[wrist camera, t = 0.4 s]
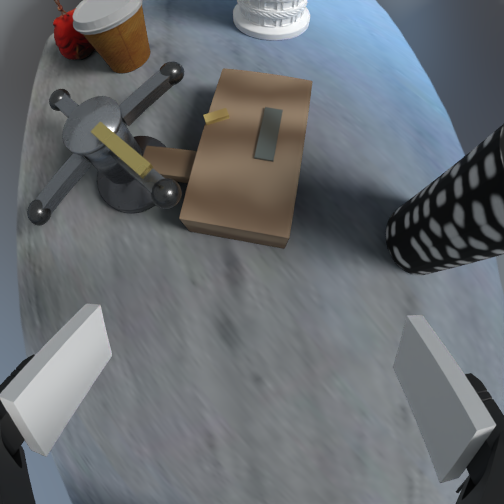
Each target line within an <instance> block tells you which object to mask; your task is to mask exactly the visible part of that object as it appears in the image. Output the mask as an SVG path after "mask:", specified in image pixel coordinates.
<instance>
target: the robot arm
mask: <svg viewBox="0 0 504 504" xmlns="http://www.w3.org/2000/svg"><path fill="white" fill-rule="evenodd" d="M111 357H112V352H111V348H110V344H109V340H108V336H107V332H106V328H105V324H104V319H103V315H102V310H101V305H97V304H88V303H86V304H85V305H84V306H83V307H82V308H81V309H80V310H79V311H78V312H77V313H76V314H75V315H74V316H73V317H72V318H71V319H70V320H69V321H68V322H67V323H66V324H65V325H64V326H63V327H62V328H61V329H60V330H59V331H58V332H57V333H56V334H55V335H54V336H53V337H52V338H51V339H50V340H49V341H48V342H47V343H46V344H45V345H44V347H43V348H42V349H41V350H40V351H39V352H38V353H37V354H36V355H34V354H33V355H32V356H30V357H28V358H27V359H25V360H24V361H22V362H21V364H20V365H19V366H18V367H17V368H16V370H14V371H13V372H12V373H11V376H9V377H7V378H6V380H5V381H4V382H3V383H2V384H1V385H0V504H35V500H34V496H33V492H32V488H31V483H30V479H29V474H28V469H27V464H26V459H25V453H24V450H23V448H22V446H21V445H22V443H23V442H24V440H25V441H26V443H27V445H28V446H29V448H30V449H31V450H32V451H34V452H36V453H39V454H41V455H43V456H46V457H47V456H48V454H49V452H50V451H51V449H52V447H53V446H54V444H55V443H56V441H57V439H58V438H59V436H60V434H61V433H62V431H63V430H64V428H65V426H66V425H67V423H68V422H69V420H70V419H71V417H72V415H73V414H74V412H75V411H76V409H77V408H78V406H79V405H80V403H81V401H82V400H83V398H84V397H85V395H86V394H87V392H88V391H89V389H90V388H91V386H92V385H93V383H94V382H95V380H96V379H97V377H98V376H99V374H100V373H101V371H102V370H103V368H104V367H105V365H106V364H107V362H108V361H109V359H110V358H111ZM393 368H394V371H395V373H396V375H397V377H398V379H399V382H400V384H401V386H402V389H403V391H404V393H405V395H406V398H407V400H408V402H409V405H410V407H411V410H412V412H413V414H414V417H415V419H416V422H417V424H418V427H419V429H420V431H421V434H422V437H423V439H424V442H425V444H426V447H427V449H428V452H429V455H430V457H431V460H432V462H433V465H434V468H435V471H436V473H437V476H438V479H439V482H440V483H442V482H446V481H450V480H453V479H456V478H459V477H460V475H461V474H462V473H463V472H464V470H465V469H466V468H467V470H468V473H469V476H468V477H467V479H466V480H465V481H464V482H463V483H462V485H461V486H460V487H459V488H458V490H457V491H456V492H457V493H459V491H460V490H461V489H462V490H461V493H460V495H459V497H458V500H457V502H456V504H504V415H503V414H502V412H501V410H500V409H499V407H498V406H497V404H496V403H495V401H494V400H493V399H492V397H491V395H490V394H489V392H487V389H486V388H485V386H484V385H483V383H482V382H481V381H480V380H479V379H478V378H477V377H475V376H474V375H473V374H471V373H470V374H464V373H463V371H462V370H461V369H460V367H459V366H458V364H457V363H456V361H455V360H454V358H453V357H452V355H451V354H450V353H449V351H448V350H447V348H446V347H445V345H444V344H443V343H442V341H441V340H440V338H439V337H438V336H437V334H436V333H435V332H434V330H433V329H432V327H431V326H430V325H429V323H428V322H427V321H426V319H425V318H424V317H423V315H408V316H407V317H406V321H405V325H404V329H403V333H402V337H401V340H400V344H399V348H398V351H397V355H396V358H395V362H394V365H393Z"/></svg>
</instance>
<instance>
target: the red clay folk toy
mask: <svg viewBox="0 0 504 504" xmlns="http://www.w3.org/2000/svg"><path fill="white" fill-rule="evenodd" d="M54 1H55V3H56V4H57V5H58V10H59V11H61V13H62V15H61V16H60V17H58V18H56V19H55V20H54V23H53V25H54V26H55V29H54V38H55V41H56V45H57V46H58V47H59V50H60V52H61V54H62V55H63V56H64V57H65V58H68V59H72V60H78V59H84V58H86V57H88V56H89V55H90V54H91V53H92V52H93V51H94V50H96V49H95V48H94V47H93V46H92V44H91V43H90V42H89V41H88V40H87V39H86V38H85V36H84V35H83V34H81V33H80V32H78V31H76V30H75V29H74V27H73V21H74V20H73V13H74V10H75V9H76V8H75V9H73V10H71V11H69V12H67V13H66V12H65V11H64V10H63V8H62V6H61V5H60V3H59V0H54Z"/></svg>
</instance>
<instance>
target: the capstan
mask: <svg viewBox="0 0 504 504" xmlns="http://www.w3.org/2000/svg"><path fill="white" fill-rule="evenodd" d="M183 77H184V69H183V67H182V66H181V65H180V64H179V63H177V62H168V63H165V64H164V65H163V66H162V67H161V68H160V70H159V71H158V72H157V73H155V74H154V75H153V76H152V77H151V78H149V79H148V80H147V81H146V82H145V83H144V84H143V85H141V86H140V87H139V88H138V89H137V90H136V91H135V92H134V93H132V94H131V95H130V96H129V97H128V98H127V99H126V100H125V101H124V102H123V103H122V104H121V105H118V104H117V102H116V101H115V100H114V99H112V98H110V97H106V96H98V97H94V98H91V99H89V100H87V101H85V102H83V103H82V104H80V105H78V104H76V103H75V102H74V101H73V100H72V99H71V98H70V94H69V92H68V91H67V90H65V89H58V90H56V91H54V92H53V93H52V94H51V96H50V99H49V104H50V106H51V108H52V109H53V110H56V111H61V112H62V113H63V114H64V115H66V116H67V117H68V119H67V121H66V123H65V125H64V129H63V141H64V144H65V146H66V147H67V148H68V149H69V150H70V151H71V152H73V154H72V155H71V156H70V158H69V159H68V160H67V161H66V162H65V163H64V165H63V166H62V167H61V168H60V169H59V170H58V172H57V173H56V174H55V175H54V176H53V178H52V179H51V180H50V181H49V183H48V184H47V185H46V186H45V188H44V189H43V190H42V192H41V193H40V194H39V195H38V197H37V198H36V199H35V200H34V201H32V202H31V204H30V205H29V207H28V211H27V214H28V218H29V220H30V221H31V222H32V223H33V224H35V225H43V224H45V223H47V222H48V220H49V219H50V217H51V214H52V212H53V211H54V210H55V209H56V207H57V206H58V205H59V203H60V202H61V201H62V200H63V198H64V197H65V196H66V195H67V193H68V192H69V191H70V190H71V189H72V187H73V186H74V185H75V184H76V183H77V181H78V180H79V179H80V178H81V177H82V176H83V174H84V173H85V172H86V171H87V170H88V169H89V168H90V167H91V164H90V163H89V162H88V161H87V160H86V159H85V158H84V157H86V158H87V159H88V160H89V161H90V162H91V163H92V164H93V165H94V166H95V167H96V168H97V169H98V170H99V171H98V178H97V182H98V189H99V192H100V194H101V196H102V198H103V199H104V200H105V201H106V202H107V203H108V204H109V205H111V206H112V207H113V208H115V209H116V210H118V211H121V212H124V213H139V212H143V211H146V210H148V209H150V208H152V207H153V206H155V205H156V206H158V207H160V208H162V209H169V208H172V207H174V206H176V205H177V204H178V202H179V201H180V199H181V194H182V192H181V188H180V185H179V184H178V183H177V182H176V181H175V180H173V179H171V178H164V177H163V176H162V175H160V174H159V173H158V172H157V171H156V170H155V169H153V166H152V165H151V164H150V163H149V162H148V161H147V160H146V159H145V158H143V155H144V152H145V149H146V146H155V147H165V146H164V145H163V144H162V143H161V142H160V141H158V140H157V139H155V138H152V137H148V136H135V137H133V136H132V134H131V133H130V131H129V130H128V128H127V127H126V126H125V124H126V125H128V126H130V125H131V124H132V123H133V122H134V121H135V120H136V119H137V118H138V117H139V116H140V115H141V114H142V113H143V112H144V111H145V110H146V109H147V108H148V107H149V106H151V105H152V104H153V103H154V102H155V101H156V100H157V99H158V98H159V97H161V96H162V95H163V94H164V93H165V92H166V91H167V90H168V89H170V88H171V87H172V86H173V85H175V84H178V83H179V82H180V81H181V80H182V79H183ZM123 122H124V123H125V124H124V123H123ZM165 148H166V147H165ZM82 155H83V156H84V157H83V156H82Z"/></svg>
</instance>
